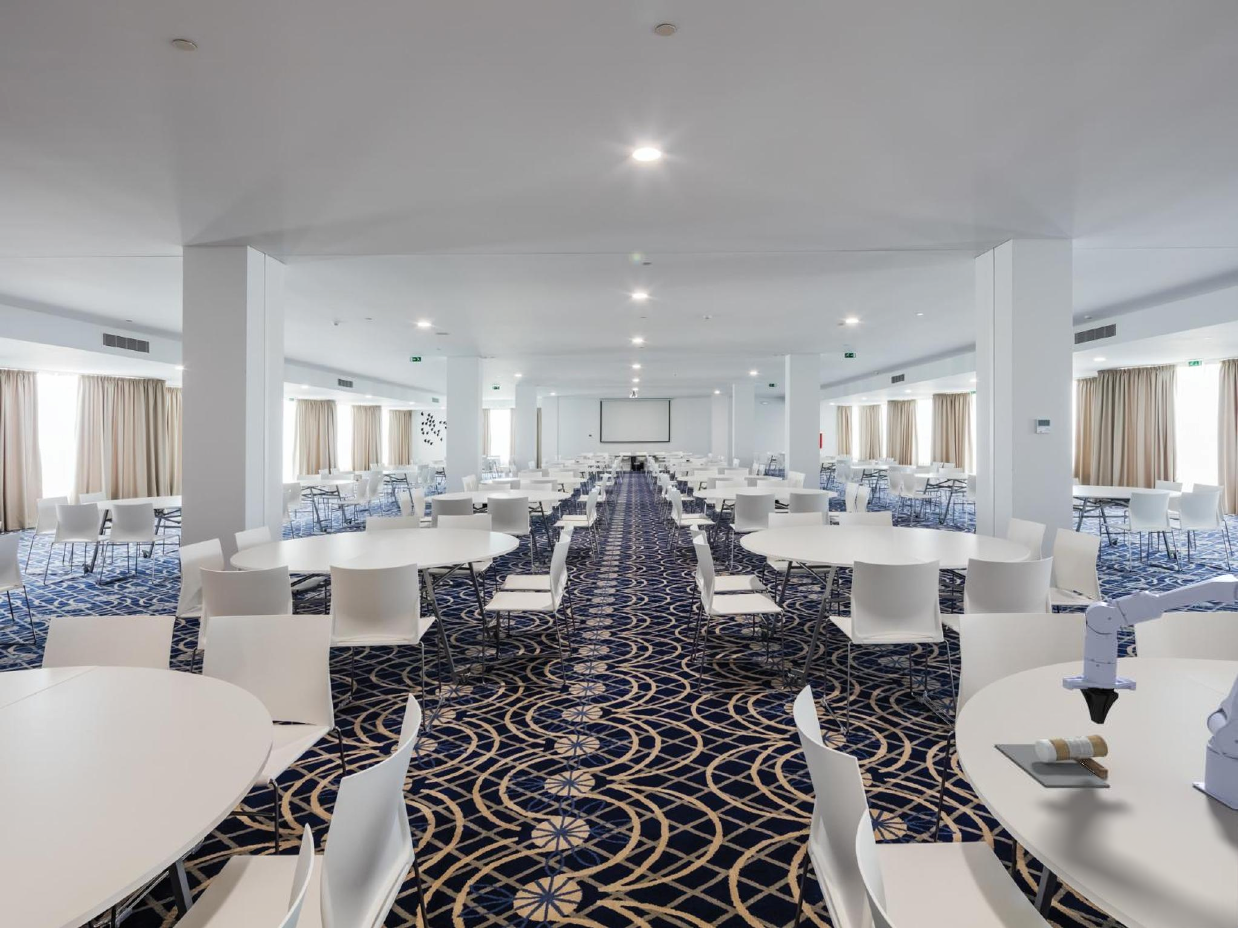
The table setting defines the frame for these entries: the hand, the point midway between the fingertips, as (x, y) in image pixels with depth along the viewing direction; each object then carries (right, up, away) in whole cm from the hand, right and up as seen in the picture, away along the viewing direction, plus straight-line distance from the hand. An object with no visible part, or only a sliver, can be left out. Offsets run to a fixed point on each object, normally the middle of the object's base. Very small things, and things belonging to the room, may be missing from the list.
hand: (1097, 722), depth 146 cm
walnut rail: (-2, -9, 0) cm, 10 cm away
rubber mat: (-10, -9, 0) cm, 14 cm away
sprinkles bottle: (+2, -5, +1) cm, 5 cm away
